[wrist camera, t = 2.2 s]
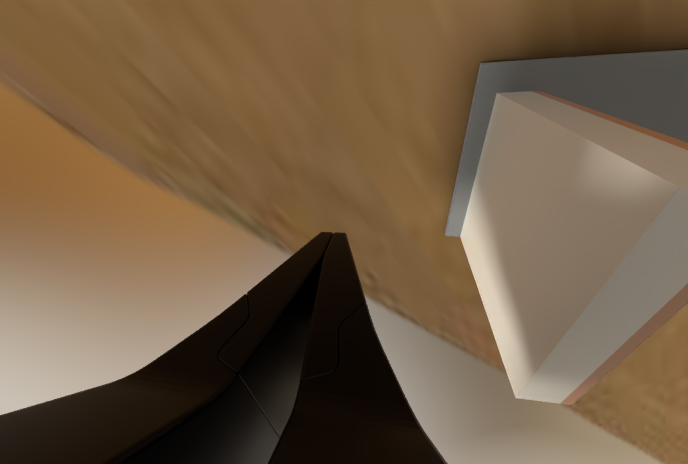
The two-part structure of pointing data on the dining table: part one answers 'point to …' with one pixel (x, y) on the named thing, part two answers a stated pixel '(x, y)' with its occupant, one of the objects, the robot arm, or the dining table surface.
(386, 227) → the dining table surface
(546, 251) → the tile
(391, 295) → the dining table surface
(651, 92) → the mat
